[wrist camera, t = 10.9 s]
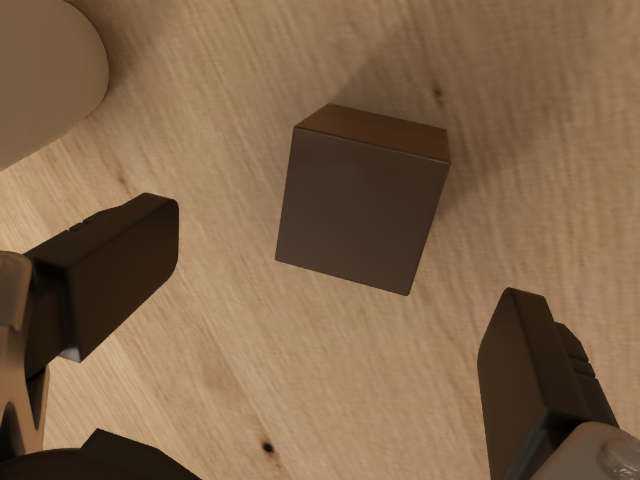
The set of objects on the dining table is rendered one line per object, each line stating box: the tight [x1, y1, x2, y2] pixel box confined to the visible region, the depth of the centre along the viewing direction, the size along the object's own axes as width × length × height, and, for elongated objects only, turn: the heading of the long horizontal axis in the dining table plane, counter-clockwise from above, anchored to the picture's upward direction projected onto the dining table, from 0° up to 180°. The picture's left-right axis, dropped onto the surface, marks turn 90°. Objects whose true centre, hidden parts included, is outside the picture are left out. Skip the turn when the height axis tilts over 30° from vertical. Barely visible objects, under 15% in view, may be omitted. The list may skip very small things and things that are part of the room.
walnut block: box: [275, 104, 451, 296], centre depth 17 cm, size 5×5×5 cm
